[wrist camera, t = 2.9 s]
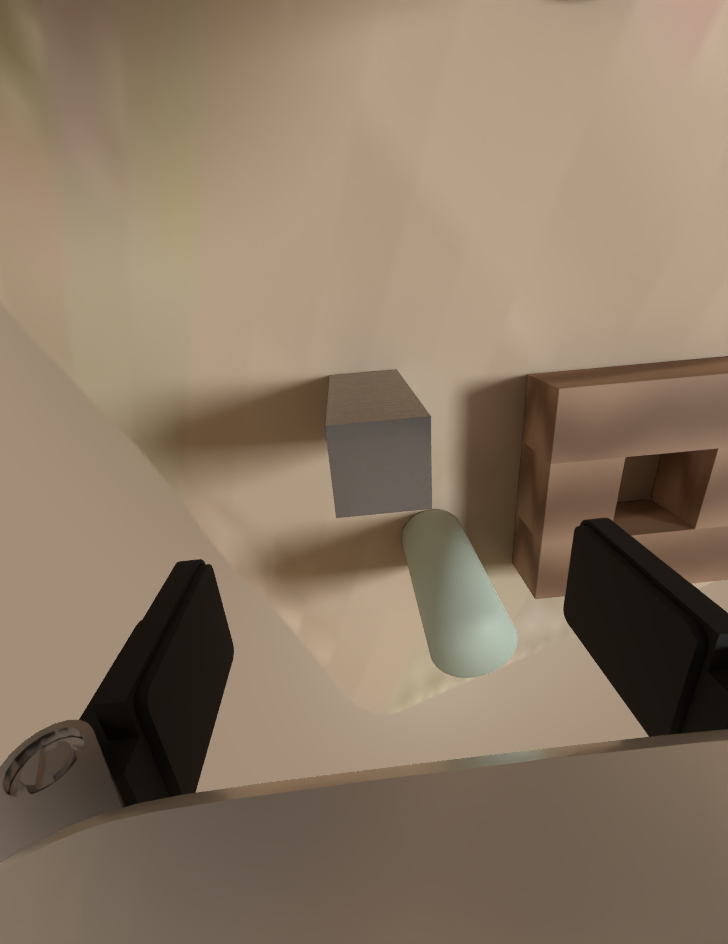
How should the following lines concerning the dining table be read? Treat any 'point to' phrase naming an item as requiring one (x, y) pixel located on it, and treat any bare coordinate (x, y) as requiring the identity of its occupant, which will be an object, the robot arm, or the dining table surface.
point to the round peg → (456, 598)
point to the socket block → (602, 461)
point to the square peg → (377, 444)
